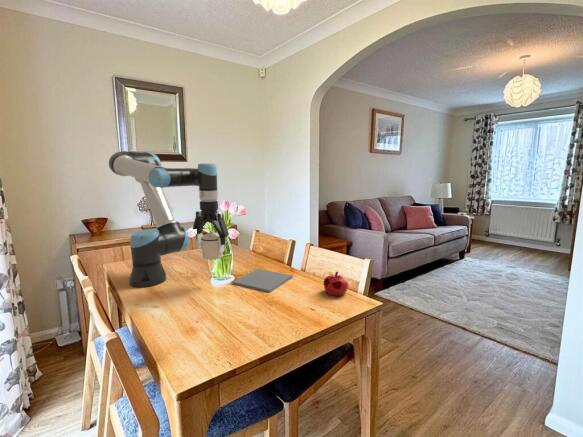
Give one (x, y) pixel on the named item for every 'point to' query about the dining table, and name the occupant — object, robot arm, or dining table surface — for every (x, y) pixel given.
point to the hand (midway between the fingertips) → (210, 250)
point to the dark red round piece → (335, 285)
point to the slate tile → (263, 280)
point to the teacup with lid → (211, 246)
